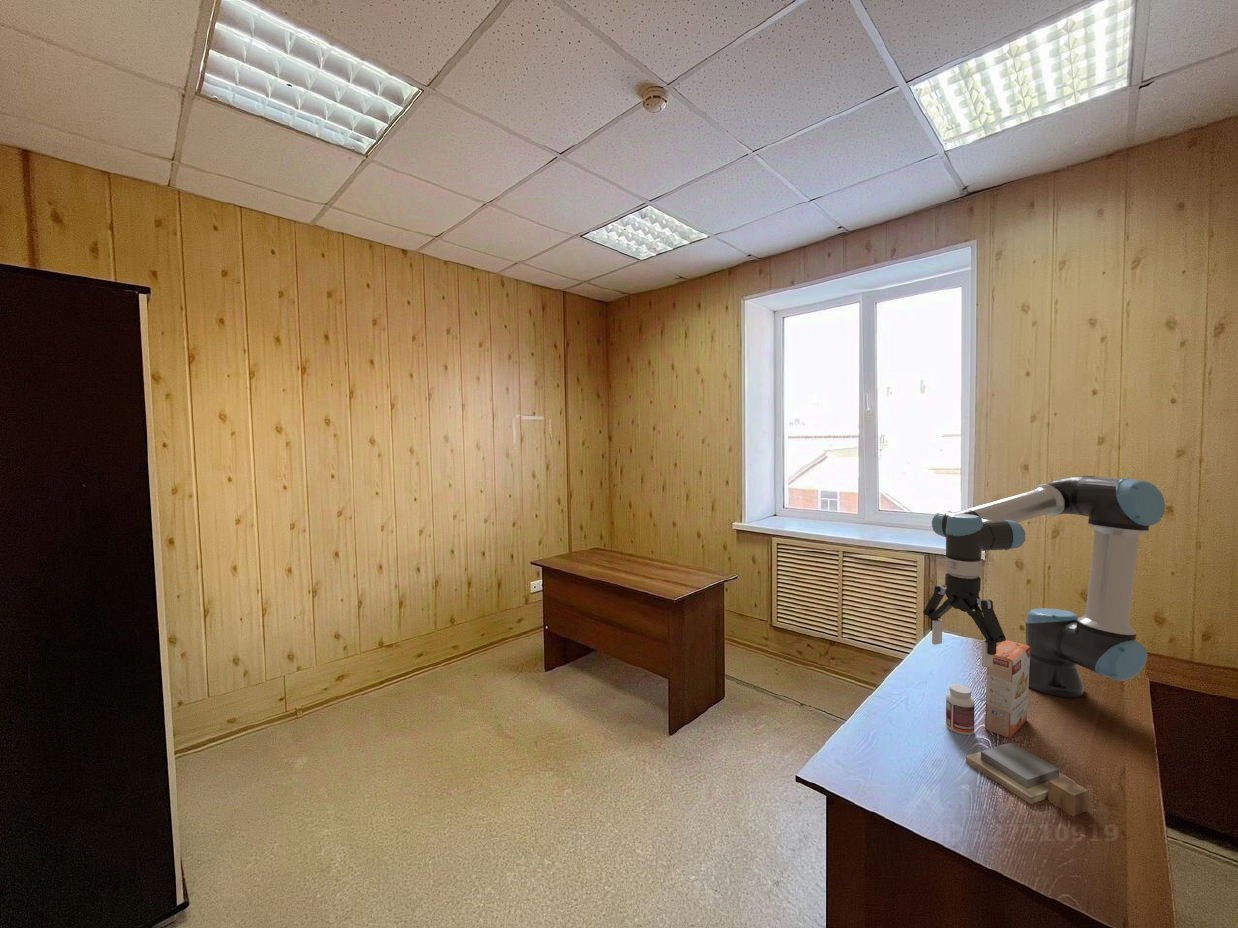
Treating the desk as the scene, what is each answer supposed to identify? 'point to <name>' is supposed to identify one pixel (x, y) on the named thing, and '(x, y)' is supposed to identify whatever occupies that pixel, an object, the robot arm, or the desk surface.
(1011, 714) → the cracker box
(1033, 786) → the podium
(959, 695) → the pill bottle
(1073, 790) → the walnut cube
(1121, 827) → the desk surface
